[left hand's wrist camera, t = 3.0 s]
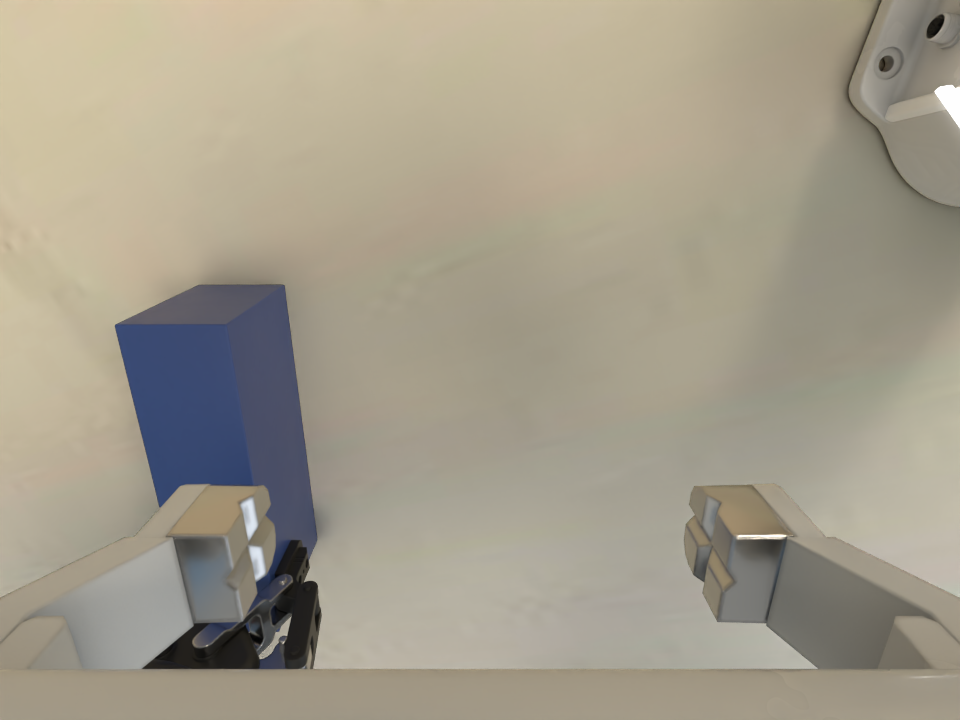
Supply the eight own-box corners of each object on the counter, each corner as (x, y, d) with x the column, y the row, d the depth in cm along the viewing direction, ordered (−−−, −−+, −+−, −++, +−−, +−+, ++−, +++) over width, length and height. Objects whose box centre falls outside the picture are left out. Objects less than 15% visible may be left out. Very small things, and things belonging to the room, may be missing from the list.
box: (198, 284, 38) (113, 324, 29) (284, 284, 38) (226, 324, 29) (245, 540, 46) (189, 632, 37) (317, 539, 46) (279, 632, 37)
